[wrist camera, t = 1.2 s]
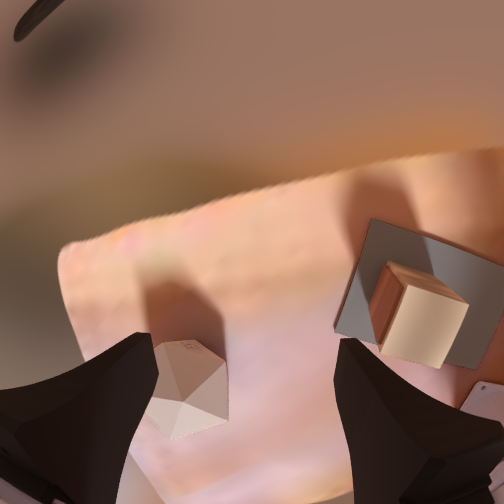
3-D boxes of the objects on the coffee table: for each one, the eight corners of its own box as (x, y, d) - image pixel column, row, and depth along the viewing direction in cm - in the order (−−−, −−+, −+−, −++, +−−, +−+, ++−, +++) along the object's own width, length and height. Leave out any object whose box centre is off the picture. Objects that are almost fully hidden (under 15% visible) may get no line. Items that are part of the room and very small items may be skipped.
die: (243, 324, 25) (134, 325, 19) (268, 421, 21) (156, 448, 15) (198, 348, 30) (110, 350, 24) (216, 426, 27) (125, 441, 20)
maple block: (434, 275, 19) (469, 304, 13) (415, 324, 20) (439, 368, 14) (383, 258, 20) (403, 283, 14) (366, 309, 21) (374, 352, 14)
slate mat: (515, 271, 17) (517, 272, 17) (474, 367, 19) (475, 370, 19) (371, 218, 20) (372, 218, 20) (334, 330, 22) (334, 332, 22)
